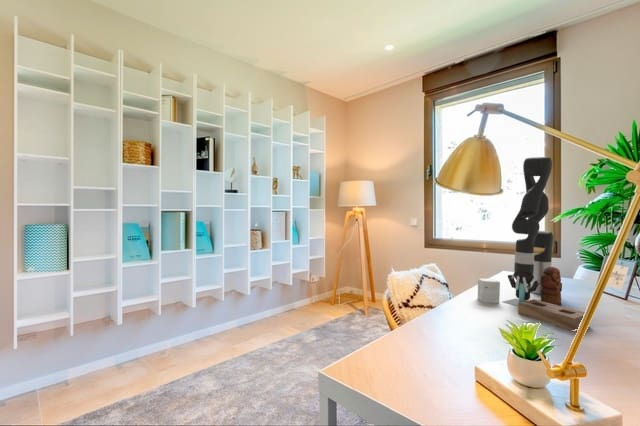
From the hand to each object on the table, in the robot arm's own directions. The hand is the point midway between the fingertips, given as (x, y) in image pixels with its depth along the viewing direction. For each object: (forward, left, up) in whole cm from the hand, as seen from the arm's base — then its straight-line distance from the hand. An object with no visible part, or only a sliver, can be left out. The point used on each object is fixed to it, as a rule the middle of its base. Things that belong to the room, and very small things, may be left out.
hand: (522, 298), depth 145 cm
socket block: (+9, +16, -3) cm, 19 cm away
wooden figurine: (-13, +6, -3) cm, 15 cm away
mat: (-1, -1, -3) cm, 3 cm away
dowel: (0, 0, -3) cm, 3 cm away
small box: (+9, -11, -3) cm, 15 cm away
